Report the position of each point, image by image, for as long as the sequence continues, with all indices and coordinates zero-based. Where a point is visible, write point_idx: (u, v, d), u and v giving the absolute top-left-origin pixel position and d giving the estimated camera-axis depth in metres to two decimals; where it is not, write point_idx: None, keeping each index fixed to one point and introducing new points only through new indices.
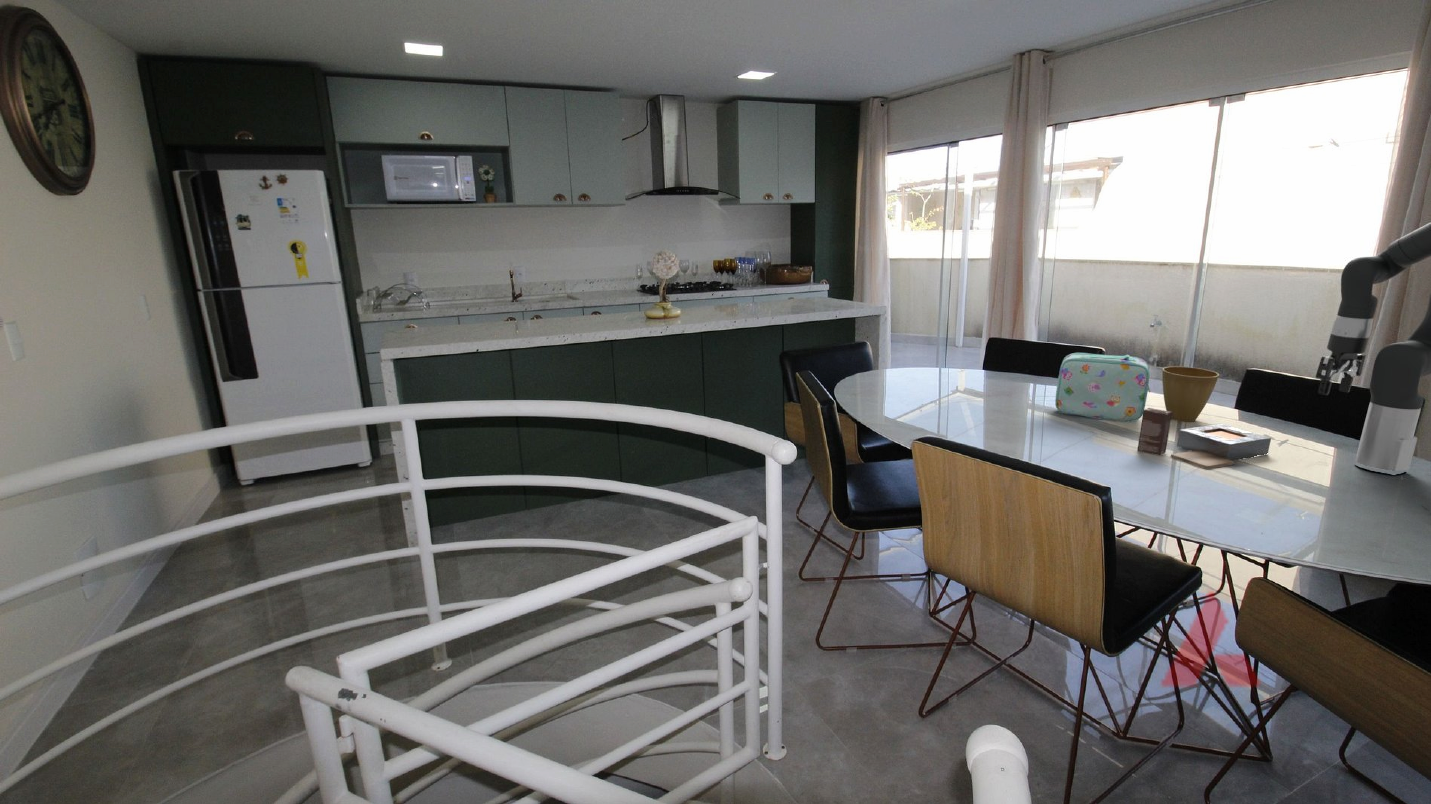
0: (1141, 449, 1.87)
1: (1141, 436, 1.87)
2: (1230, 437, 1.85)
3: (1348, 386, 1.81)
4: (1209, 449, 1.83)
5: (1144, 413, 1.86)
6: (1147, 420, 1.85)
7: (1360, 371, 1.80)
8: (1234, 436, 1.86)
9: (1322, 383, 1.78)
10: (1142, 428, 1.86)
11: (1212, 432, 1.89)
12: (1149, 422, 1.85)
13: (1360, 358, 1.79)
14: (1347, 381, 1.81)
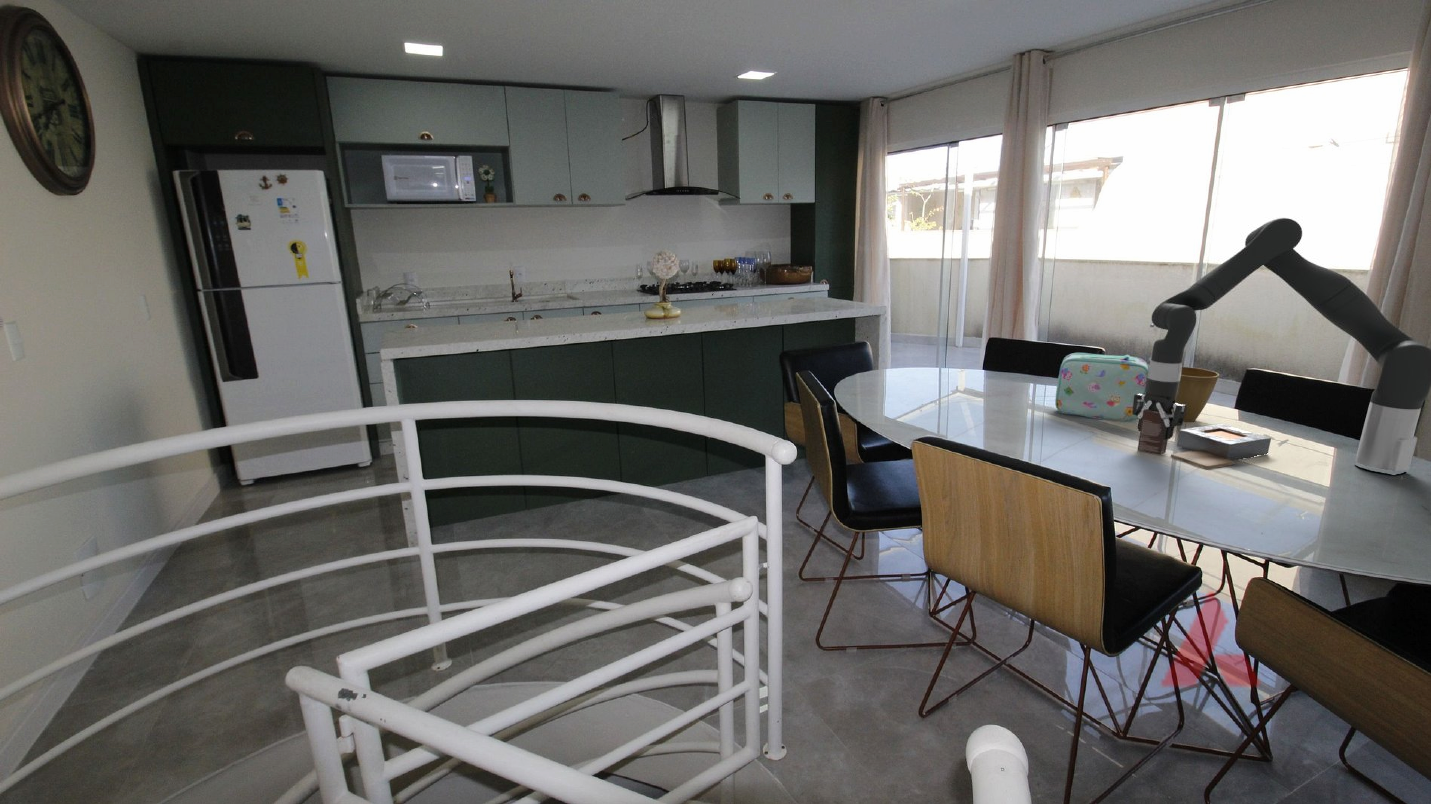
0: (1141, 449, 1.87)
1: (1141, 436, 1.87)
2: (1230, 437, 1.85)
3: None
4: (1209, 449, 1.83)
5: (1144, 413, 1.86)
6: (1147, 420, 1.85)
7: None
8: (1234, 436, 1.86)
9: (1170, 429, 1.81)
10: (1142, 428, 1.86)
11: (1212, 432, 1.89)
12: (1149, 422, 1.85)
13: None
14: None
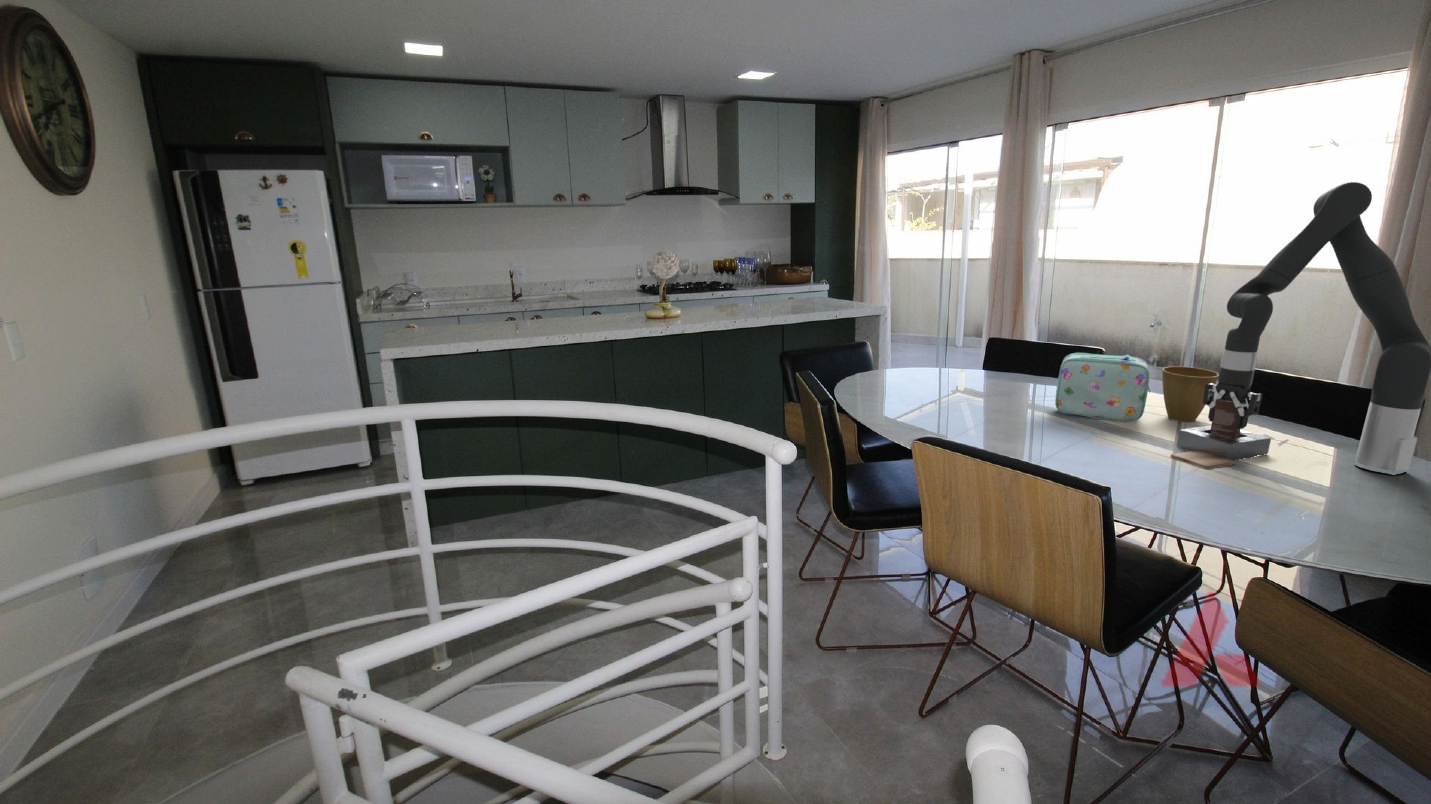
0: None
1: (1213, 425, 1.87)
2: None
3: None
4: (1209, 449, 1.83)
5: (1217, 402, 1.85)
6: (1220, 409, 1.85)
7: None
8: None
9: (1245, 418, 1.81)
10: (1214, 417, 1.86)
11: None
12: (1222, 411, 1.85)
13: None
14: None
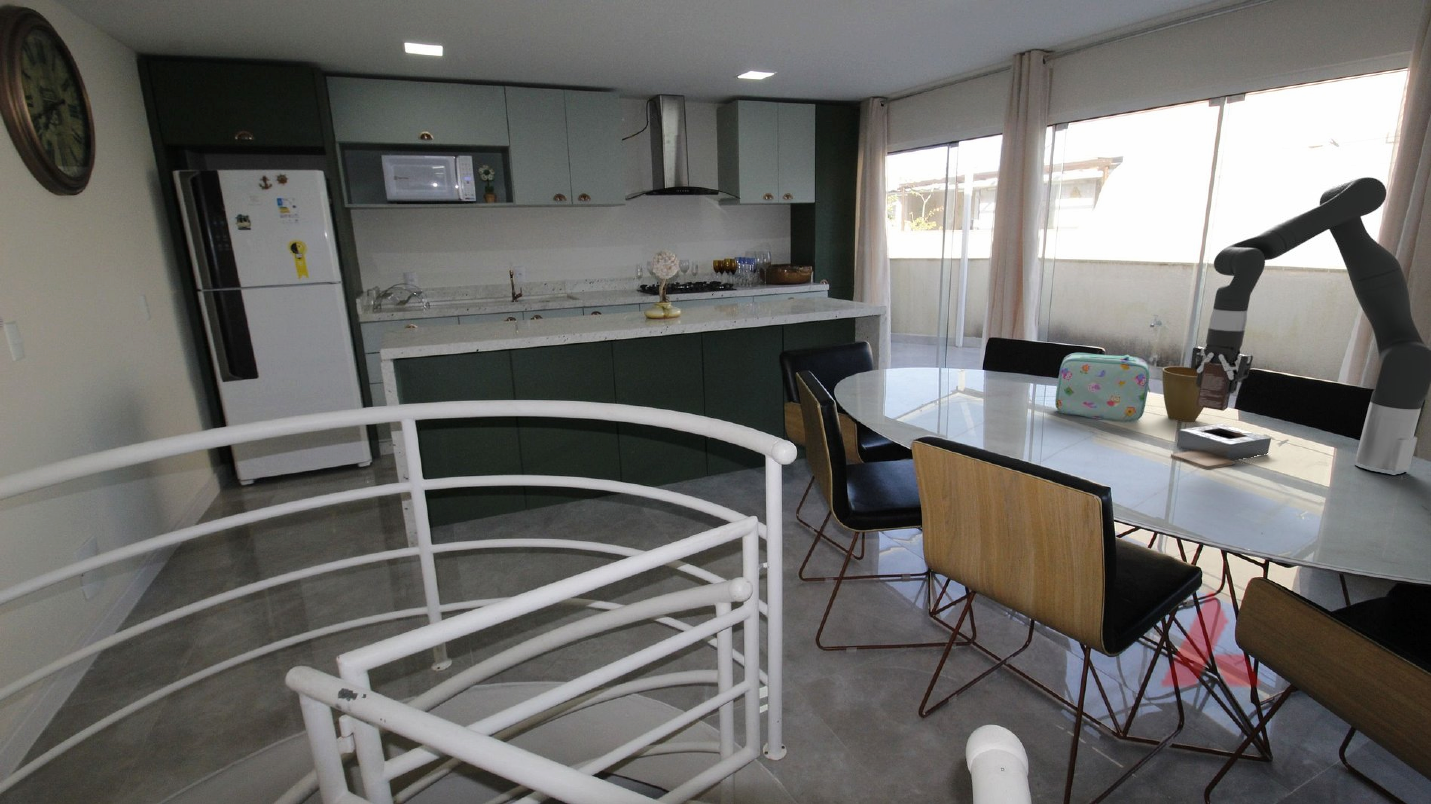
0: (1201, 405, 1.76)
1: (1201, 391, 1.76)
2: None
3: None
4: (1209, 449, 1.83)
5: (1205, 366, 1.75)
6: (1208, 373, 1.74)
7: None
8: None
9: (1234, 382, 1.70)
10: (1202, 382, 1.75)
11: None
12: (1210, 375, 1.74)
13: None
14: None
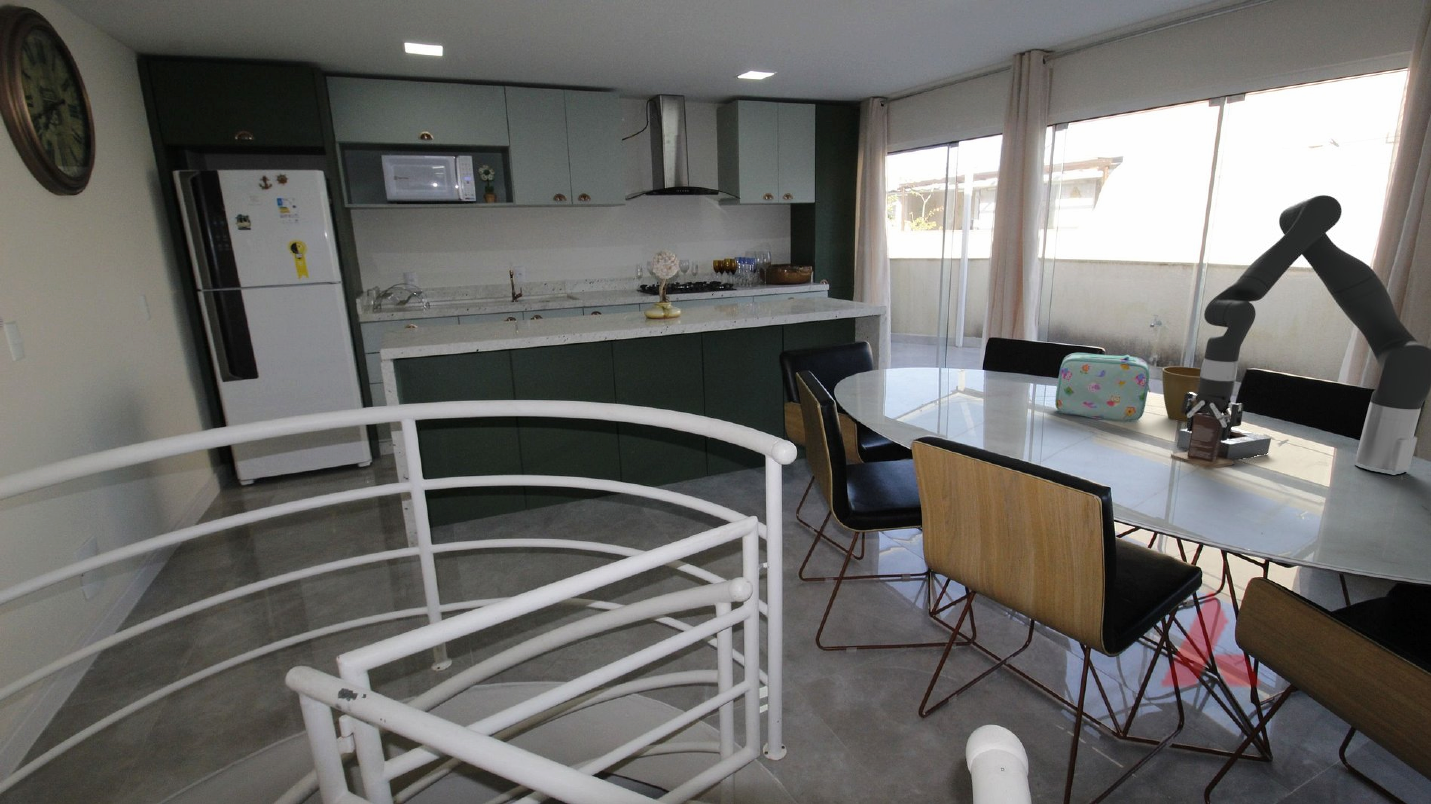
0: (1191, 455, 1.80)
1: (1192, 441, 1.80)
2: None
3: None
4: None
5: (1195, 417, 1.78)
6: (1198, 424, 1.78)
7: None
8: None
9: (1227, 430, 1.73)
10: (1193, 433, 1.79)
11: None
12: (1200, 426, 1.78)
13: None
14: None
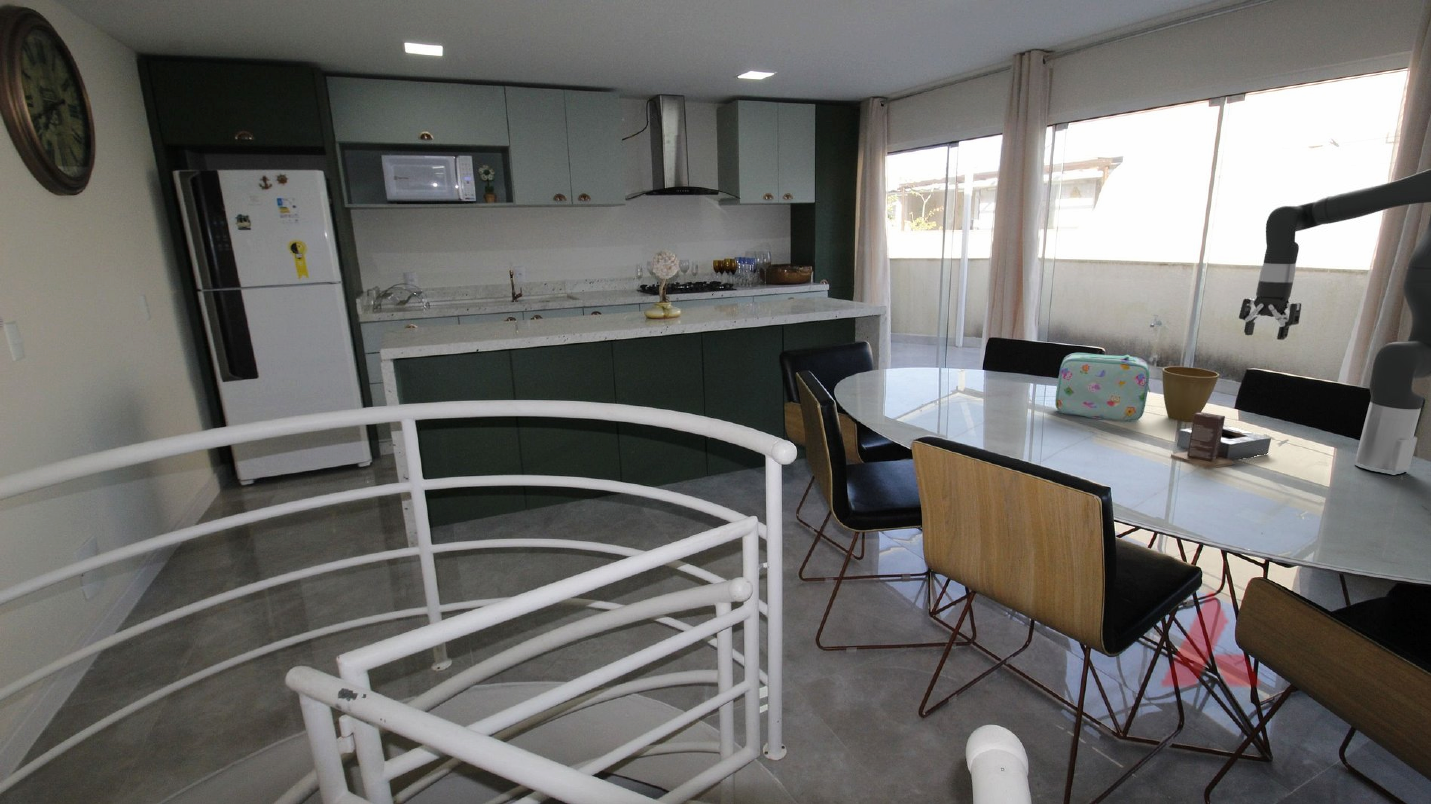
0: (1191, 455, 1.80)
1: (1191, 441, 1.80)
2: None
3: (1253, 329, 1.95)
4: None
5: (1195, 417, 1.78)
6: (1198, 424, 1.78)
7: None
8: None
9: (1286, 329, 1.86)
10: (1193, 433, 1.79)
11: None
12: (1200, 426, 1.78)
13: None
14: (1253, 324, 1.94)
